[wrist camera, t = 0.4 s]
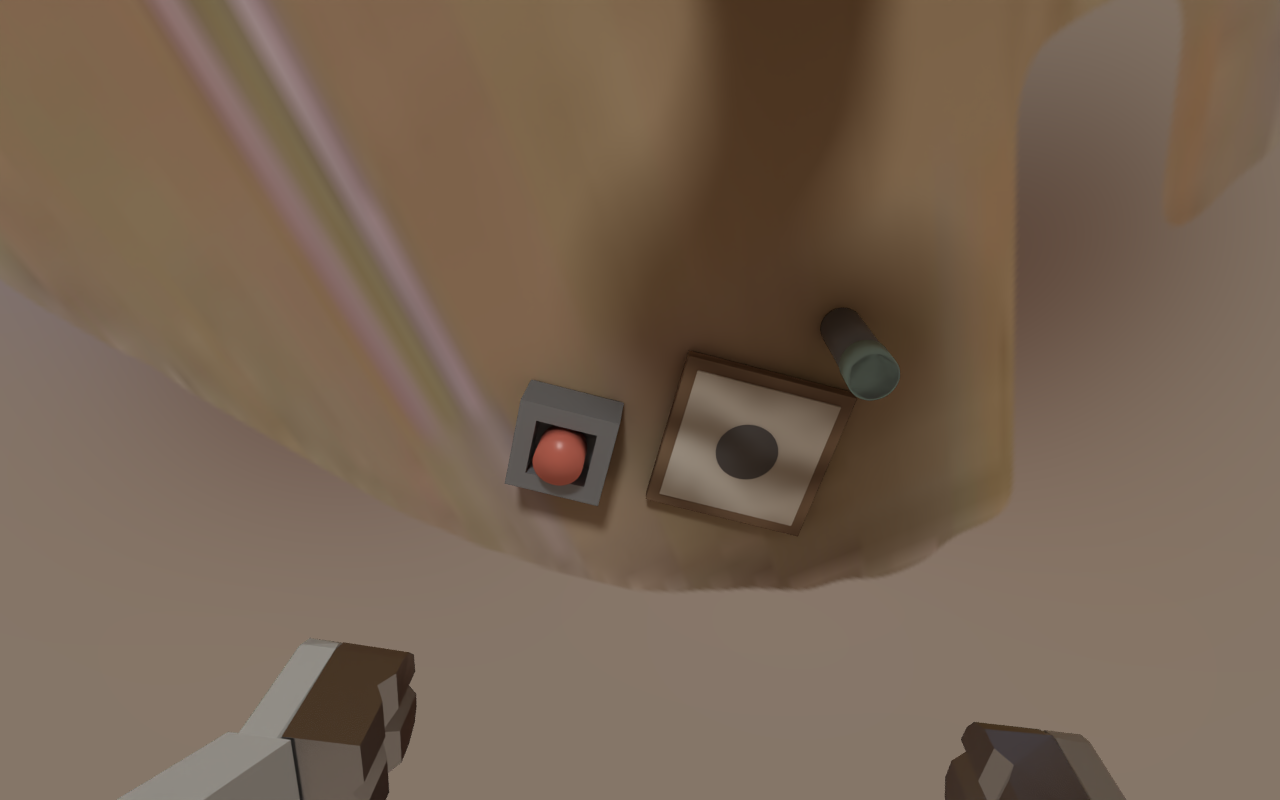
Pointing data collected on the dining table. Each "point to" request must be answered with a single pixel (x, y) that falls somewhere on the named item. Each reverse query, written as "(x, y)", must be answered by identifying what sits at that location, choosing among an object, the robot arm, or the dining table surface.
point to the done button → (560, 455)
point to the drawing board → (747, 443)
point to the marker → (859, 355)
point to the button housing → (573, 412)
